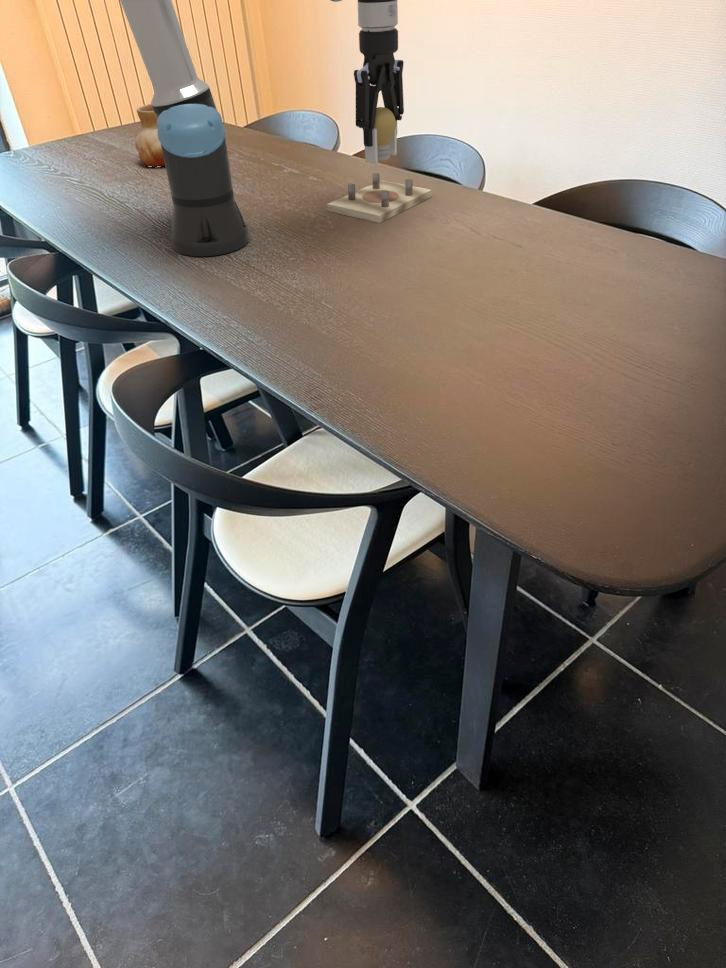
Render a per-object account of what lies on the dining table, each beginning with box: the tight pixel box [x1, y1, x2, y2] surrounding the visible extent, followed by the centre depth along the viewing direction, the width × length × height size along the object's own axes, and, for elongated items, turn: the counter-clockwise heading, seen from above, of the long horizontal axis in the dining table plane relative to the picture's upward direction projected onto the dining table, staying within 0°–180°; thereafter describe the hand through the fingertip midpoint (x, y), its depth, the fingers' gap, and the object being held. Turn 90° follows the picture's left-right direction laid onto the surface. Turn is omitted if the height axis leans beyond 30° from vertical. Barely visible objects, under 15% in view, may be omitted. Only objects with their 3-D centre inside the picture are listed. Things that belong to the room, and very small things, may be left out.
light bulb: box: [374, 106, 396, 162], centre depth 140 cm, size 6×6×10 cm
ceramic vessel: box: [134, 103, 165, 167], centre depth 179 cm, size 14×26×15 cm, turn 149°
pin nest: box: [326, 172, 433, 224], centre depth 147 cm, size 20×14×4 cm
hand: (381, 158), depth 143 cm, fingers closed on light bulb, 6 cm apart
